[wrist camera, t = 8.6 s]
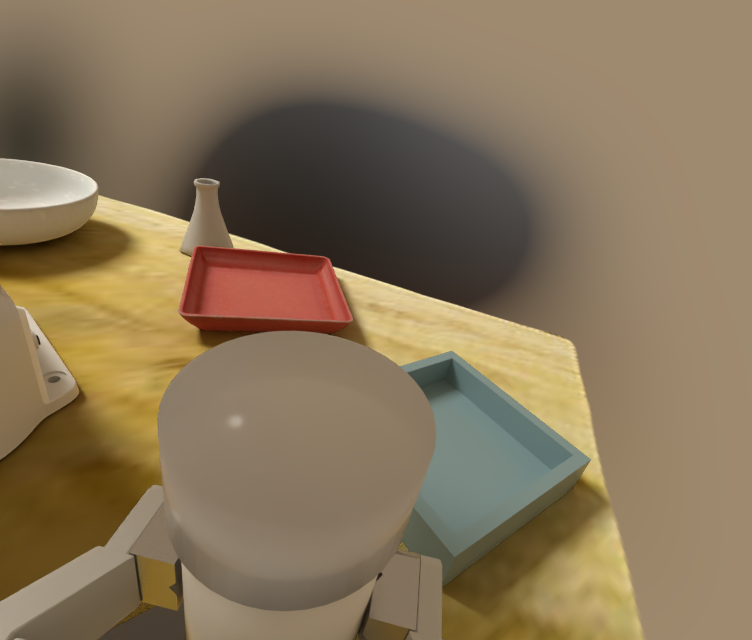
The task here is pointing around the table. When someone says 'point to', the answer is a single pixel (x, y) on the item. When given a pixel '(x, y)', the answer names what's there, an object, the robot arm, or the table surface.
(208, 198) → the flask
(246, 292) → the plant saucer
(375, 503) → the cylinder
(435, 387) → the tray
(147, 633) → the board
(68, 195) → the serving bowl
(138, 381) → the table surface
